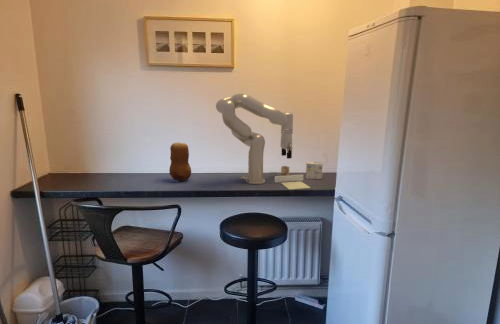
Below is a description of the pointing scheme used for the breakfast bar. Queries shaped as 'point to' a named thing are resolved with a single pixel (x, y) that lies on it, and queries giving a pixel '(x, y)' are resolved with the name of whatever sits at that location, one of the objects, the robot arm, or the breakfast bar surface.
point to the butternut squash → (179, 162)
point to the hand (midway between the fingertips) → (286, 156)
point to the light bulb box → (314, 170)
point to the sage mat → (295, 185)
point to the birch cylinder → (284, 170)
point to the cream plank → (288, 178)
